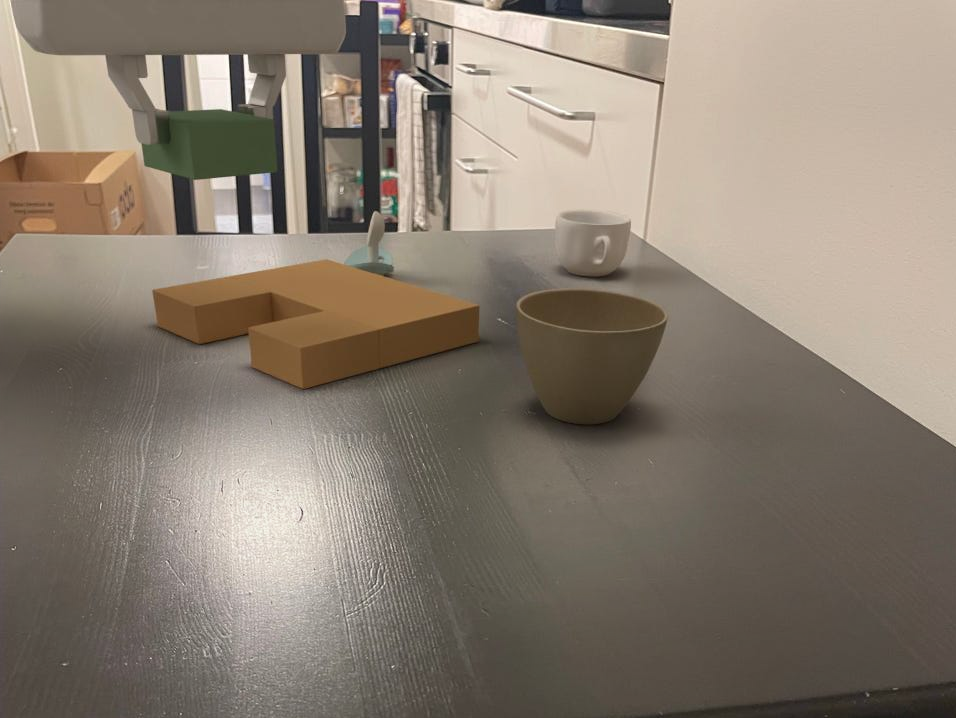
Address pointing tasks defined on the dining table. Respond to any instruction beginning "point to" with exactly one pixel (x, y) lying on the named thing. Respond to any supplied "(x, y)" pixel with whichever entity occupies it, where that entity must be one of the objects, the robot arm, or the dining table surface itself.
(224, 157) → the green block
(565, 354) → the bowl
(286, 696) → the dining table surface
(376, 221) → the pacifier
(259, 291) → the brown notched block
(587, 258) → the teacup
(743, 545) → the dining table surface
